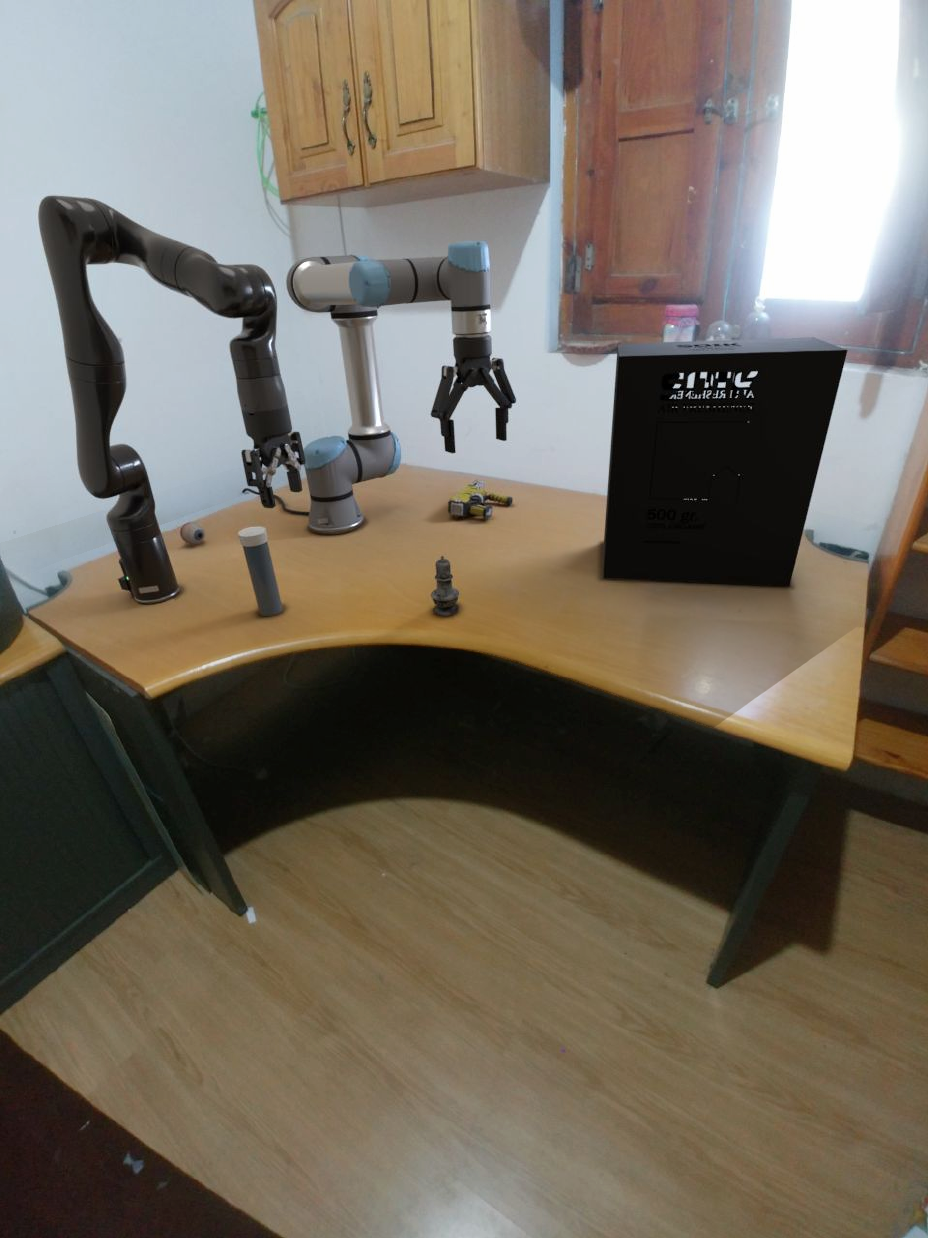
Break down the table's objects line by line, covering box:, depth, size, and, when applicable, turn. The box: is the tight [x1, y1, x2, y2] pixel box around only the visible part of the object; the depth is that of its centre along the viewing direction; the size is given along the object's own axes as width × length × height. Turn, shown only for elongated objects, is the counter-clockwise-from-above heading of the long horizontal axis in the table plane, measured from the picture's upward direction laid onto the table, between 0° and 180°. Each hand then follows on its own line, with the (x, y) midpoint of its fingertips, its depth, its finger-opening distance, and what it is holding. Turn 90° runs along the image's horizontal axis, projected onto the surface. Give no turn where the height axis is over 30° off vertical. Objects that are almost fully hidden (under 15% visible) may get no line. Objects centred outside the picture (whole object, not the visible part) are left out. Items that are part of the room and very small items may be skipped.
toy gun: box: [447, 479, 514, 521], centre depth 175 cm, size 5×24×15 cm
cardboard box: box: [602, 336, 849, 588], centre depth 126 cm, size 38×20×45 cm, turn 78°
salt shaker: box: [430, 555, 461, 616], centre depth 121 cm, size 6×6×12 cm
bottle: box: [242, 541, 284, 617], centre depth 123 cm, size 5×5×18 cm
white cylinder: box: [237, 525, 269, 547], centre depth 119 cm, size 5×5×2 cm
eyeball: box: [179, 521, 206, 546], centre depth 161 cm, size 6×6×6 cm
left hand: (283, 499), depth 107 cm, fingers open, 8 cm apart
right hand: (476, 445), depth 127 cm, fingers open, 13 cm apart
